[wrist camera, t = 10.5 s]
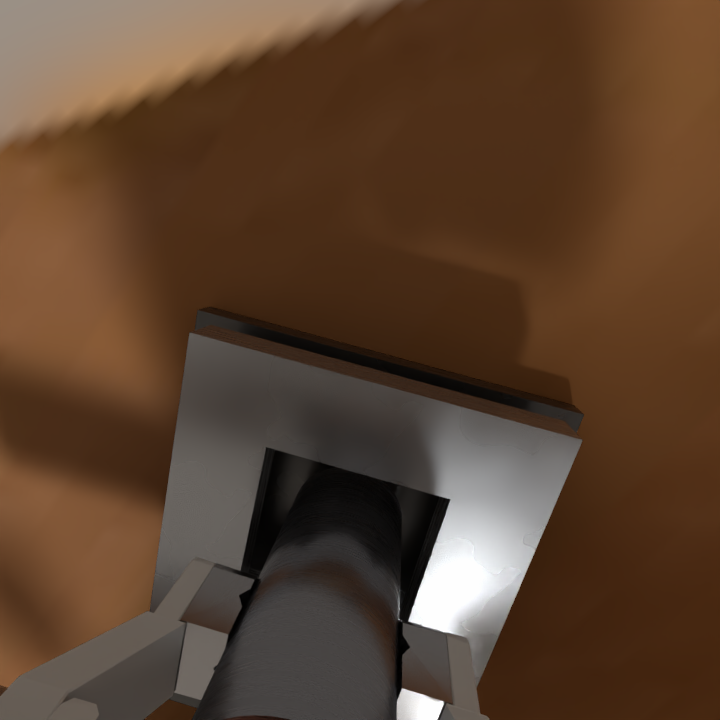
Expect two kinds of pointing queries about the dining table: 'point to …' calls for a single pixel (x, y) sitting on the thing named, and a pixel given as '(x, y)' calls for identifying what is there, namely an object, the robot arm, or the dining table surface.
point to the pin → (320, 612)
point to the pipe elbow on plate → (362, 465)
